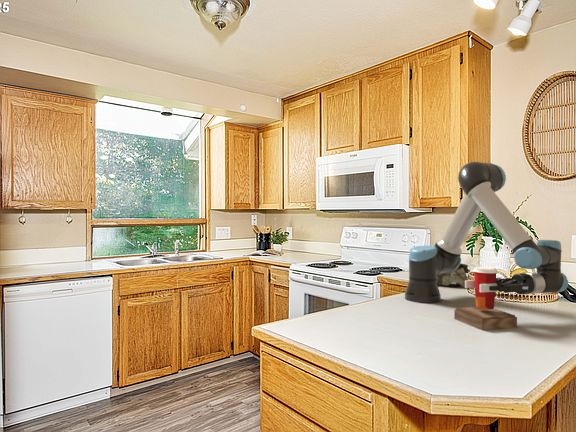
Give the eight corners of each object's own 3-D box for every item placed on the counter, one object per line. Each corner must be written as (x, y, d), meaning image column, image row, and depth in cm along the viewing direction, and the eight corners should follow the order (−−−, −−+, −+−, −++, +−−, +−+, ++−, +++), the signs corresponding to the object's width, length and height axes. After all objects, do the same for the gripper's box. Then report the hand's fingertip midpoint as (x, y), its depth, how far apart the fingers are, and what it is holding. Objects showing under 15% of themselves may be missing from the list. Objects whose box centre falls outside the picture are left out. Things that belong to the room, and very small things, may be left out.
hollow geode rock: (414, 292, 215) (413, 275, 205) (415, 273, 223) (414, 256, 213) (471, 294, 205) (473, 277, 195) (470, 274, 213) (471, 257, 203)
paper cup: (496, 306, 141) (497, 267, 141) (497, 311, 134) (498, 270, 134) (472, 304, 145) (472, 265, 144) (472, 308, 138) (472, 268, 138)
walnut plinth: (482, 330, 131) (482, 318, 131) (454, 318, 145) (454, 307, 145) (516, 327, 135) (517, 315, 134) (486, 316, 148) (486, 305, 148)
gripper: (550, 299, 134) (493, 303, 129) (505, 288, 153) (454, 291, 148) (551, 277, 134) (493, 280, 129) (505, 269, 153) (454, 271, 148)
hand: (472, 286), depth 138 cm, fingers closed on paper cup, 7 cm apart
